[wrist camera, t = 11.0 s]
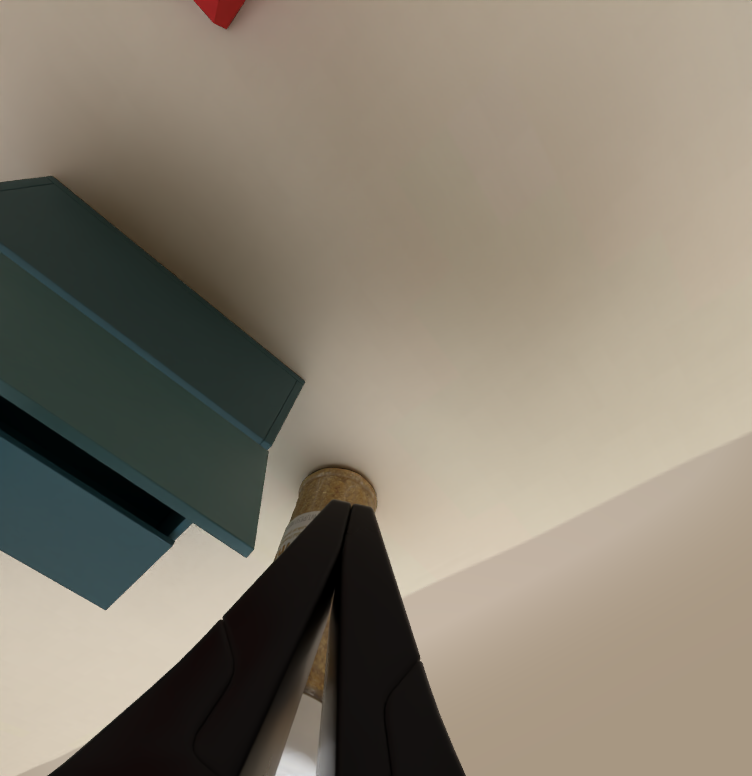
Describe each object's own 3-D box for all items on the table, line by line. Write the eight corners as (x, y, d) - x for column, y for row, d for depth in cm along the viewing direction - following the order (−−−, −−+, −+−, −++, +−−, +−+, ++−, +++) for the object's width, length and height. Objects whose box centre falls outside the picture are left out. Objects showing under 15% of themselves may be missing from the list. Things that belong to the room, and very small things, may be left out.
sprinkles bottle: (314, 452, 25) (207, 732, 14) (391, 483, 26) (352, 779, 14) (290, 508, 27) (182, 789, 16) (361, 535, 28) (307, 828, 16)
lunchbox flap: (-90, 196, 14) (-84, 189, 14) (263, 457, 18) (269, 451, 18) (-453, 96, 7) (-442, 82, 7) (246, 558, 11) (254, 548, 11)
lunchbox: (52, 175, 20) (-91, 192, 14) (305, 381, 23) (266, 456, 18) (-45, 388, 26) (-169, 455, 21) (165, 525, 29) (105, 611, 24)
